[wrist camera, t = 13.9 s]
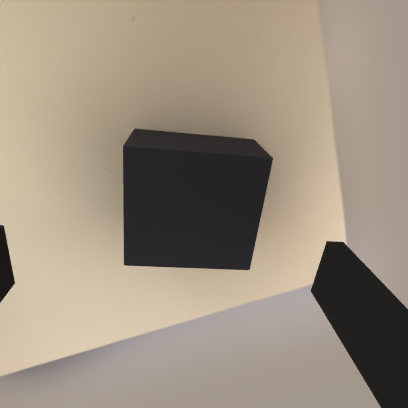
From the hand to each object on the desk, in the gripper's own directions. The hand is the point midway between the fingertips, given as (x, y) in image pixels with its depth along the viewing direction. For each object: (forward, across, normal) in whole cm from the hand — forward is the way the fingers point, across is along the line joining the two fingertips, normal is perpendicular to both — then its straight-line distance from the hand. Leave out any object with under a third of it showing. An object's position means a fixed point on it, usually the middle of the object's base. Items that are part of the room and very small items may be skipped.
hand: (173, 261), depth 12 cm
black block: (+12, +1, -1) cm, 12 cm away
